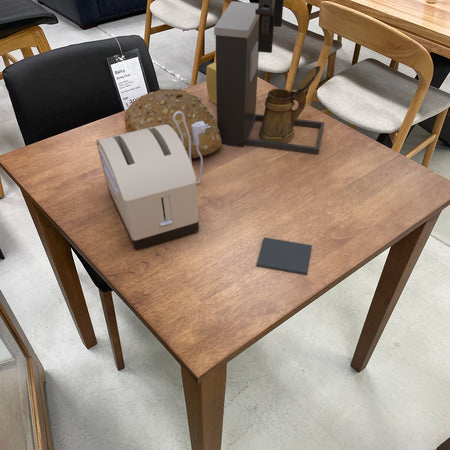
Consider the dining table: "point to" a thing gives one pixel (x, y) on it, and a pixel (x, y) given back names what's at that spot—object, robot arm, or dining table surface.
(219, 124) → the coffee maker
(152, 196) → the toaster
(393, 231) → the dining table surface
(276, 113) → the wooden mug
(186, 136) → the bread
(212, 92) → the cheese
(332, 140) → the dining table surface
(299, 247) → the mat
